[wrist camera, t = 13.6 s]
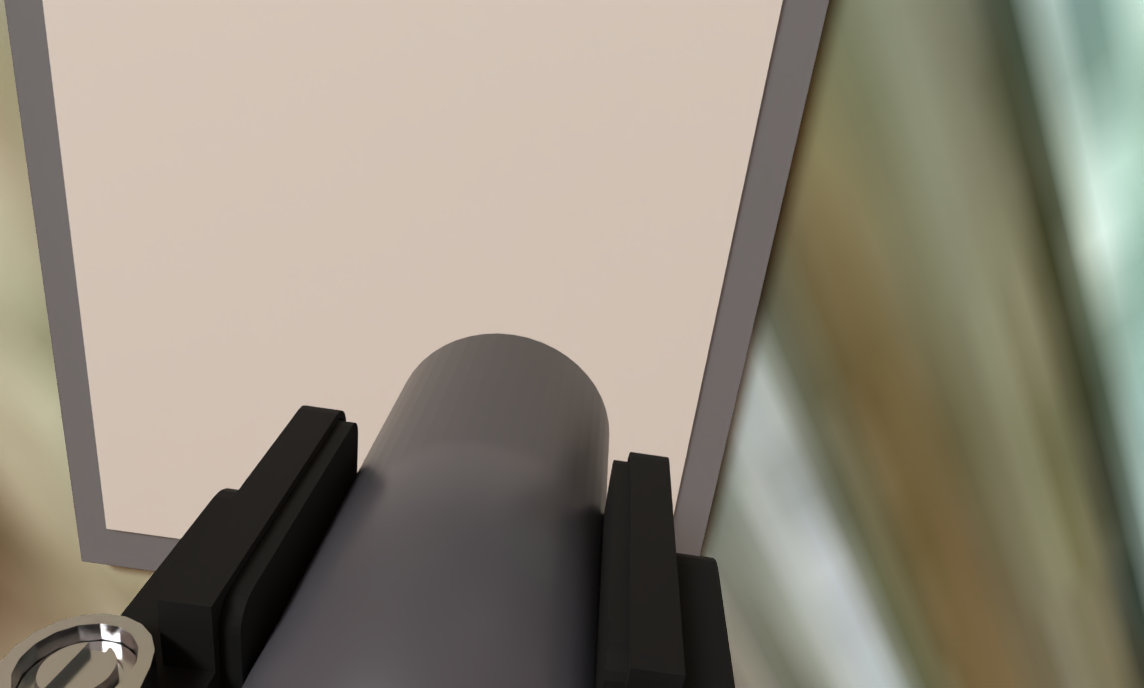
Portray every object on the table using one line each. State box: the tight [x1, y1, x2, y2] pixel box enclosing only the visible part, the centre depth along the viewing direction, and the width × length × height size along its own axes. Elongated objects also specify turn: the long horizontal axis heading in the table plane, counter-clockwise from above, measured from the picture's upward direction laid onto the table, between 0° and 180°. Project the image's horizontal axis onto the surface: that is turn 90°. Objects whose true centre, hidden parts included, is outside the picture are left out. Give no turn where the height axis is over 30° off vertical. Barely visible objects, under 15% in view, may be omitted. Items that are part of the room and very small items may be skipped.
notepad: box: [4, 0, 829, 571], centre depth 21 cm, size 18×24×1 cm
